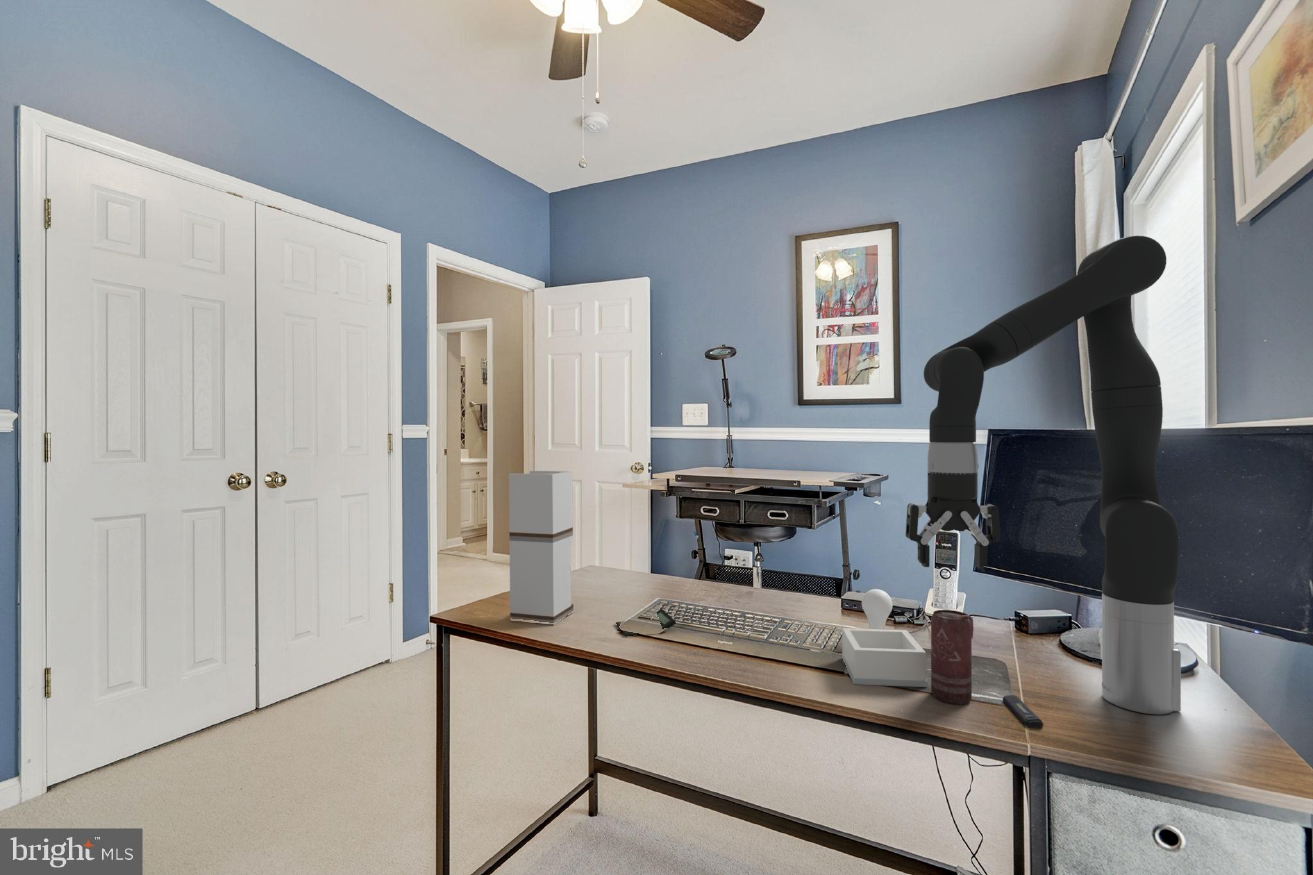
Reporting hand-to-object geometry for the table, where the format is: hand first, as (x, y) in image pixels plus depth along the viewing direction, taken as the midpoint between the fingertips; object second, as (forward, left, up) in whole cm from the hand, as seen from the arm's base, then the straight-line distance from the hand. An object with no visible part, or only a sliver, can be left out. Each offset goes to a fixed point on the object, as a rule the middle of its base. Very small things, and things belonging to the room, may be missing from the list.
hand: (951, 566), depth 103 cm
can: (0, 0, -22) cm, 22 cm away
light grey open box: (+9, -10, -22) cm, 26 cm away
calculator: (+56, -31, -22) cm, 68 cm away
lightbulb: (+6, -27, -22) cm, 35 cm away
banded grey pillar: (+82, -37, -22) cm, 93 cm away
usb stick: (-9, +5, -23) cm, 25 cm away
